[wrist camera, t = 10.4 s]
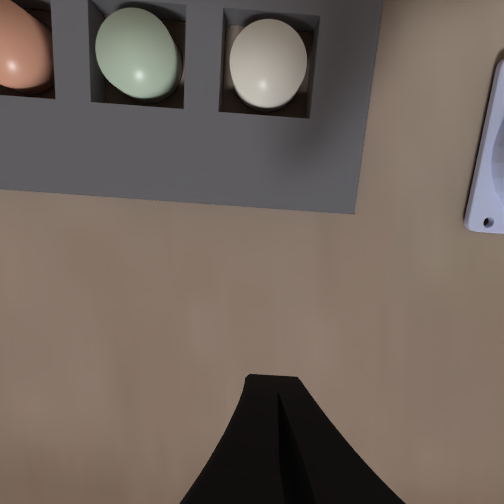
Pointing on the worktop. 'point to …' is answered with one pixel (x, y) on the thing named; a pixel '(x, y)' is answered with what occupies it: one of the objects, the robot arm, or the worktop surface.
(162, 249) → the worktop surface
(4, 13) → the terracotta button
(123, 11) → the sage button
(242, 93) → the cream button
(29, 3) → the button panel
